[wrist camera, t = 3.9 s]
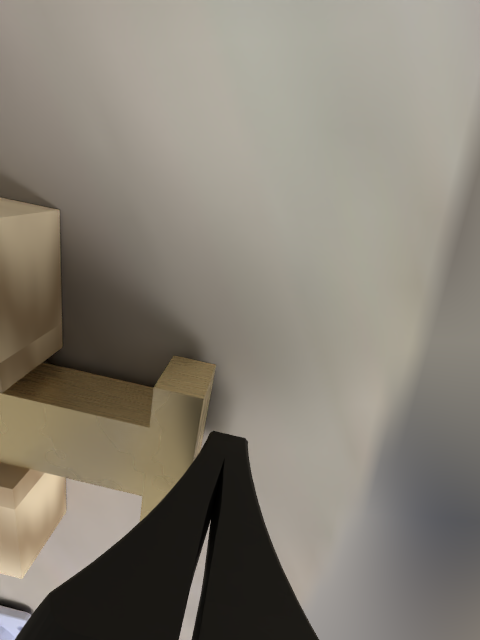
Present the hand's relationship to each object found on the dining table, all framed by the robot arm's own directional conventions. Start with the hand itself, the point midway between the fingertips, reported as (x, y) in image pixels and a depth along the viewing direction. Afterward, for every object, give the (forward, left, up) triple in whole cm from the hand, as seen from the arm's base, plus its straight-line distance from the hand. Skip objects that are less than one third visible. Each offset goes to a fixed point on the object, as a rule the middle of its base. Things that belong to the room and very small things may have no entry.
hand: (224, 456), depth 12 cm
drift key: (0, +5, -1) cm, 5 cm away
